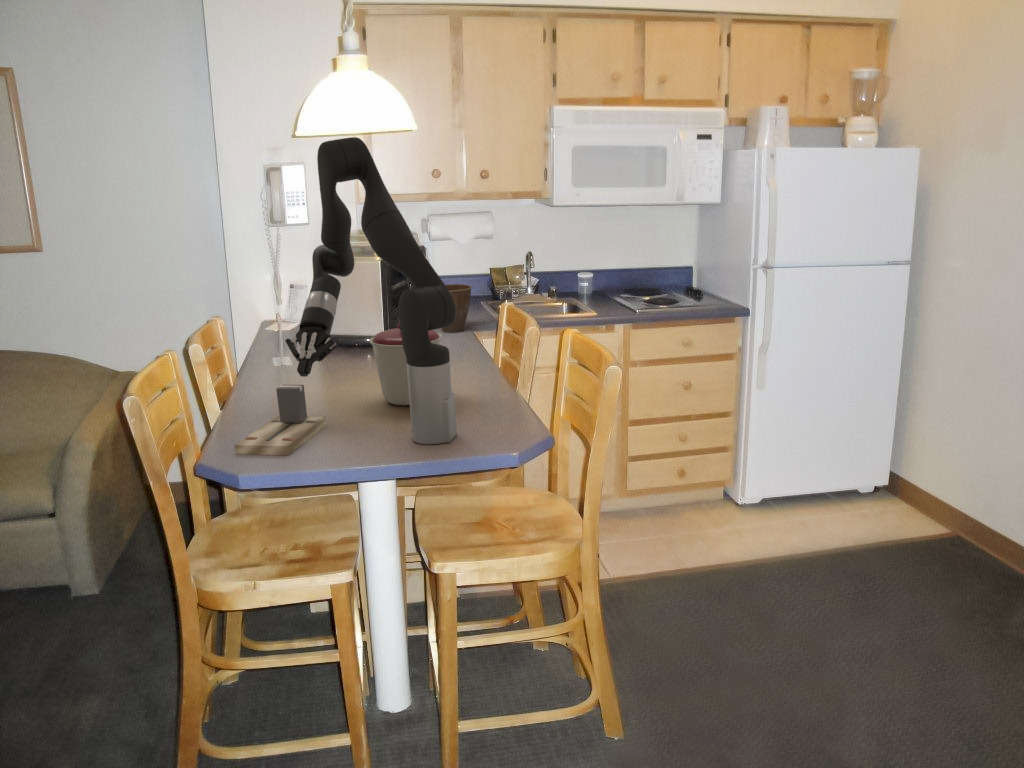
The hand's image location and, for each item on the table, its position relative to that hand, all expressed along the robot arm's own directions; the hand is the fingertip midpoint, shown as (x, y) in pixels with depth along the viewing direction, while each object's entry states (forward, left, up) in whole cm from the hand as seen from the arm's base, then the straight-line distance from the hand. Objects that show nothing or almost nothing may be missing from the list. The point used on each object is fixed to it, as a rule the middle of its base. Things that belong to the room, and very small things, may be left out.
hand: (302, 374), depth 184 cm
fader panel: (0, +13, -11) cm, 17 cm away
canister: (-20, -18, -11) cm, 29 cm away
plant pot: (-9, -105, -11) cm, 106 cm away
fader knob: (0, +7, -9) cm, 11 cm away
